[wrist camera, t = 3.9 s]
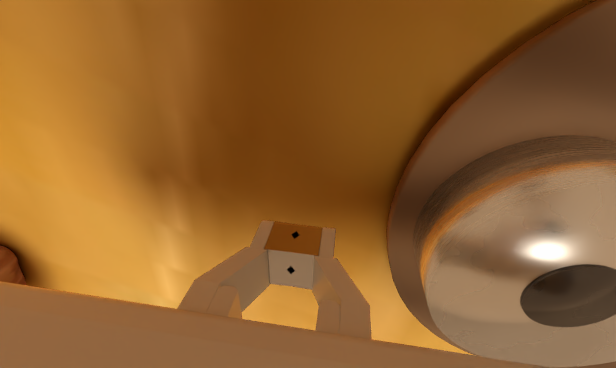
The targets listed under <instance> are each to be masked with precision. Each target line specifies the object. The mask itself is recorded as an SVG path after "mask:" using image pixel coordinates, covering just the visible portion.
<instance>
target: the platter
mask: <svg viewBox="0 0 616 368" xmlns="http://www.w3.org/2000/svg"><path fill="white" fill-rule="evenodd" d="M560 135H585V136H592V137H600V138H605V139H609V140H612V141H616V0H596V1H594V2H592V3H590V4H588V5H586V6H584V7H582V8H580V9H578V10H576V11H574V12H573V13H571V14H569V15H567V16H566V17H564V18H563V19H561V20H559V21H558V22H556V23H555V24H553V25H552V26H550V27H549V28H547V29H545V30H544V31H542V32H541V33H539V34H538V35H536V36H535V37H533V38H531V39H530V40H528V41H527V42H525V43H524V44H522V45H521V46H519V47H518V48H517V49H516V50H514V51H513V52H512V53H511V54H509V55H508V56H507V57H505V58H504V59H503V60H502V61H500V62H499V63H498V64H496V65H495V66H494V67H493V68H491V69H490V70H489V71H488V72H486V73H485V74H484V75H483V76H481V77H480V78H479V79H478V80H477V81H476V82H475V83H474V84H473V85H472V86H471V87H470V88H469V89H468V90H467V91H466V92H465V93H464V94H463V95H462V96H461V97H459V98H458V99H457V100H456V101H455V102H454V103H453V104H452V105H451V106H450V108H449V109H448V110H447V111H446V112H445V113H444V115H443V116H442V117H441V118H440V119H439V121H438V122H437V123H436V124H435V125H434V126H433V128H432V129H431V130H430V131H429V132H428V134H427V135H426V137H425V138H424V140H423V141H422V143H421V144H420V146H419V147H418V149H417V150H416V152H415V153H414V155H413V156H412V158H411V159H410V161H409V163H408V165H407V167H406V169H405V171H404V173H403V175H402V177H401V179H400V181H399V183H398V185H397V188H396V191H395V195H394V198H393V201H392V204H391V207H390V212H389V219H388V226H387V250H388V257H389V263H390V268H391V273H392V277H393V281H394V283H395V286H396V288H397V290H398V293H399V295H400V297H401V299H402V300H403V302H404V303H405V305H406V306H407V308H408V309H409V311H410V312H411V313H412V314H413V315H414V316H415V317H416V318H417V319H418V320H419V322H420V323H421V324H423V325H424V326H425V327H426V328H428V329H429V330H430V331H431V332H432V333H434V334H435V335H436V336H438V337H440V338H441V339H443V340H445V341H446V342H448V343H449V344H451V345H453V346H455V347H457V348H460V349H462V350H464V351H466V352H468V353H471V354H473V355H476V356H480V355H477V354H474V353H472V352H470V351H468V350H466V349H464V348H462V347H460V346H459V345H457V344H455V343H454V342H452V341H451V340H450V339H449V338H448V337H446V336H445V335H444V334H443V333H442V332H441V331H440V329H439V328H438V327H437V326H436V324H435V322H434V321H433V319H432V317H431V314H430V311H429V308H428V304H427V300H426V296H425V292H424V288H423V285H422V281H421V277H420V273H419V269H418V265H417V261H416V257H415V253H414V247H413V232H414V228H415V223H416V221H417V218H418V216H419V213H420V211H421V210H422V208H423V206H424V204H425V203H426V201H427V200H428V199H429V197H430V196H431V195H432V194H433V192H434V191H435V190H436V189H437V188H438V187H439V186H440V185H441V184H442V183H443V182H444V181H445V180H447V179H448V178H449V177H450V176H452V175H453V174H454V173H455V172H457V171H458V170H460V169H461V168H463V167H464V166H466V165H467V164H469V163H470V162H472V161H474V160H476V159H478V158H480V157H482V156H484V155H486V154H488V153H490V152H493V151H495V150H498V149H500V148H503V147H505V146H508V145H512V144H515V143H519V142H522V141H526V140H531V139H536V138H542V137H549V136H560ZM481 357H482V356H481ZM551 368H616V361H615V362H609V363H603V364H596V365H588V366H576V367H551Z"/></svg>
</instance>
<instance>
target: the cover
mask: <svg viewBox="0 0 616 368" xmlns="http://www.w3.org/2000/svg"><path fill="white" fill-rule="evenodd" d="M413 247H414V253H415V257H416V261H417V265H418V269H419V273H420V277H421V281H422V285H423V288H424V292H425V296H426V300H427V304H428V308H429V311H430V314H431V317H432V319H433V321H434V322H435V324H436V326H437V327H438V328H439V329H440V331H441V332H442V333H443V334H444V335H445V336H446V337H448V338H449V339H450V340H451V341H452V342H454V343H455V344H457V345H459V346H460V347H462V348H464V349H466V350H468V351H470V352H472V353H474V354H477V355H480V356H482V357H487V358H494V359H500V360H506V361H513V362H519V363H525V364H532V365H538V366H545V367H576V366H588V365H596V364H603V363H609V362H615V361H616V141H612V140H609V139H605V138H600V137H592V136H585V135H560V136H549V137H542V138H536V139H531V140H526V141H522V142H519V143H515V144H512V145H508V146H505V147H503V148H500V149H498V150H495V151H493V152H490V153H488V154H486V155H484V156H482V157H480V158H478V159H476V160H474V161H472V162H470V163H469V164H467V165H466V166H464V167H463V168H461V169H460V170H458V171H457V172H455V173H454V174H453V175H452V176H450V177H449V178H448V179H447V180H445V181H444V182H443V183H442V184H441V185H440V186H439V187H438V188H437V189H436V190H435V191H434V192H433V194H432V195H431V196H430V197H429V199H428V200H427V201H426V203H425V204H424V206H423V208H422V210H421V211H420V213H419V216H418V218H417V221H416V223H415V228H414V232H413Z"/></svg>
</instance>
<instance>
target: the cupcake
mask: <svg viewBox="0 0 616 368" xmlns="http://www.w3.org/2000/svg"><path fill="white" fill-rule="evenodd" d="M0 281H2V282H8V283H14V284H21V285H26V281H25V278H24V276H23V274H22V272H21V270H20V267H19V265H18V260H17V257H16V256H15V254H14V253H13V252H12V251H11V250H9V249H8V248H6V247H4V246H0Z"/></svg>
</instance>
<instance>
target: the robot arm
mask: <svg viewBox="0 0 616 368" xmlns="http://www.w3.org/2000/svg"><path fill="white" fill-rule="evenodd" d="M335 233H336V229H335V228H327V227H315V226H306V225H297V224H290V223H283V222H276V221H275V222H274V221H267V220H263V221H262V222H261V223H260V225H259V228H258V230H257V232H256V234H255V236H254V239H253V241H252V243H251V245H250V247H245V248H244V249H242V250H241V251H239V252H238V253H236V254H234V255H233V256H231V257H230V258H228V259H227V260H225V261H224V262H222V263H220V264H219V265H217V266H216V267H214V268H213V269H211V270H209V271H208V272H206V273H205V274H203V275H202V276H200V277H199V278H197V279H195V280H194V282H193V284H192V285H191V287H190V289H189V290H188V292H187V293H186V295H185V297H184V298H183V300H182V302H181V303H180V305H179V307H178V308H177V309H174V308H168V307H162V306H155V305H149V304H142V303H136V302H130V301H123V300H117V299H111V298H104V297H98V296H91V295H85V294H79V293H72V292H66V291H59V290H53V289H47V288H40V287H34V286H27V285H21V284H14V283H8V282H2V281H0V368H551V367H545V366H538V365H532V364H525V363H519V362H513V361H506V360H500V359H494V358H487V357H481V356H474V355H468V354H462V353H455V352H449V351H443V350H436V349H430V348H424V347H417V346H411V345H404V344H398V343H392V342H385V341H379V340H373V339H371V322H370V305H369V304H368V303H367V301H366V300H365V298H364V297H363V295H362V294H361V292H360V291H359V290H358V288H357V287H356V285H355V284H354V282H353V281H352V280H351V278H350V277H349V275H348V274H347V272H346V271H345V270H344V268H343V267H342V265H341V264H340V262H339V261H338V259H335V258H333V256H334V245H335ZM269 284H277V285H285V286H293V287H299V288H305V289H311V290H312V291H313V294H314V296H315V298H316V300H317V303H318V305H319V309H318V316H317V324H316V331H315V330H308V329H302V328H296V327H289V326H283V325H276V324H270V323H264V322H257V321H251V320H245V319H242V313H241V312H242V311H243V310H245V309H246V308H247V307H248V306H249V305H250V304H251V303H252V302H253V301H254V300H255V299H256V298H257V297H258V296H259V295H260V294H261V293H262V292H263V291H264V290H265V289H266V288H267V287H268V286H269Z"/></svg>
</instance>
